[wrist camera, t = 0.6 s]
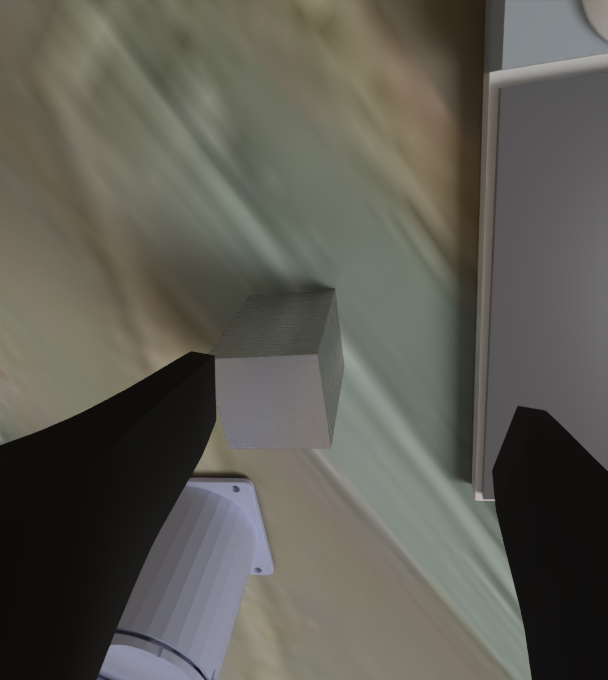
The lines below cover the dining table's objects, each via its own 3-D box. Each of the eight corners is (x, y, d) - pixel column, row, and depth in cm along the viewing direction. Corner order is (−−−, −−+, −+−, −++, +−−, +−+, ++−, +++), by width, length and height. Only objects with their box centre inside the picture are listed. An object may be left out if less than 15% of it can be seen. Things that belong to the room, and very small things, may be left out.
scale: (471, 484, 24) (483, 539, 21) (488, -83, 14) (514, -132, 11) (642, 486, 23) (681, 546, 20) (801, -154, 12) (933, -234, 9)
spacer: (265, 369, 23) (229, 448, 18) (250, 294, 21) (204, 359, 16) (344, 366, 22) (330, 448, 17) (335, 288, 21) (317, 354, 15)
